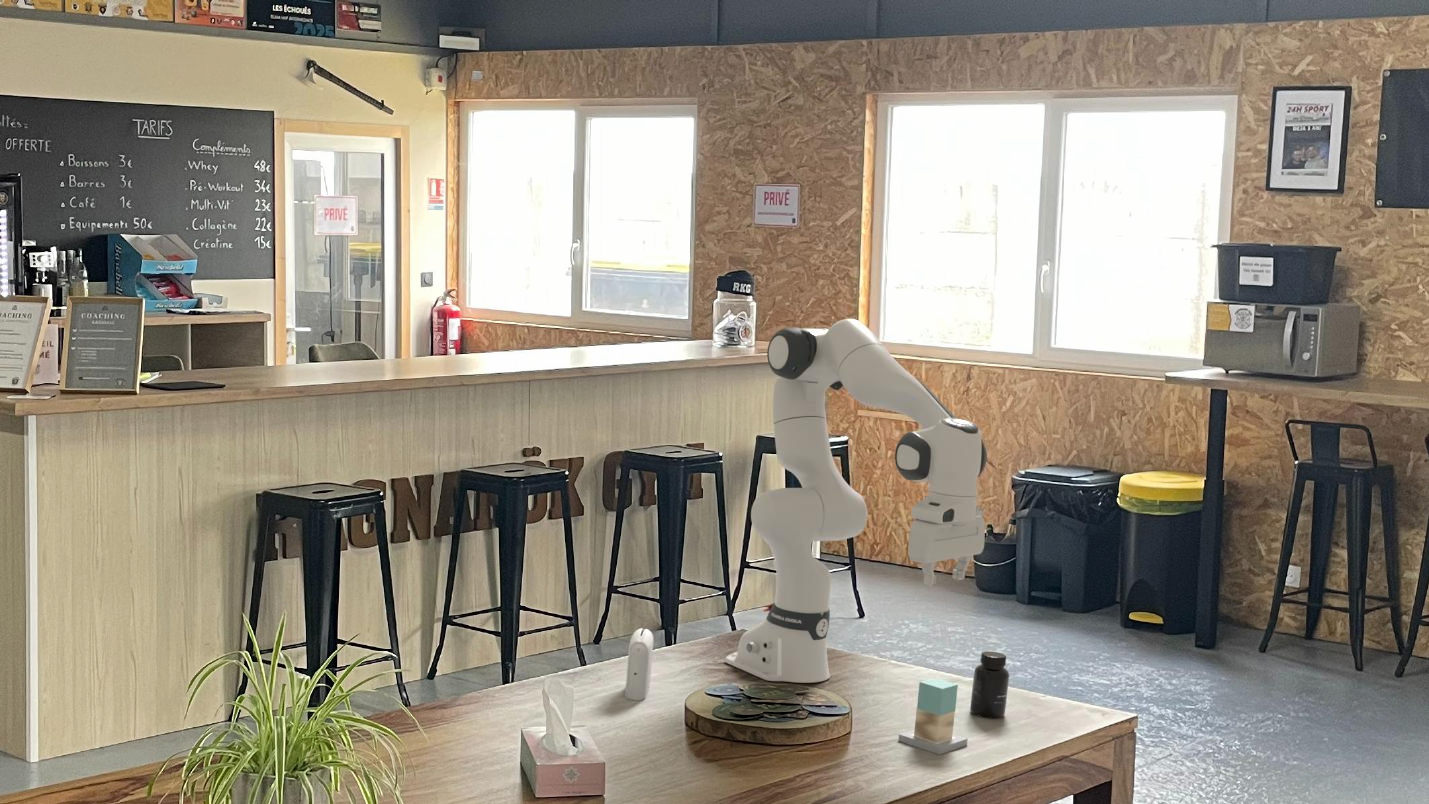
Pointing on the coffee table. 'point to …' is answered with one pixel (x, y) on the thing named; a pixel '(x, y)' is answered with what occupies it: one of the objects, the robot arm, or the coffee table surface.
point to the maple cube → (934, 725)
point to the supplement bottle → (990, 686)
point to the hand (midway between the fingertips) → (943, 582)
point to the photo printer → (639, 664)
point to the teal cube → (937, 696)
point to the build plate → (931, 745)
